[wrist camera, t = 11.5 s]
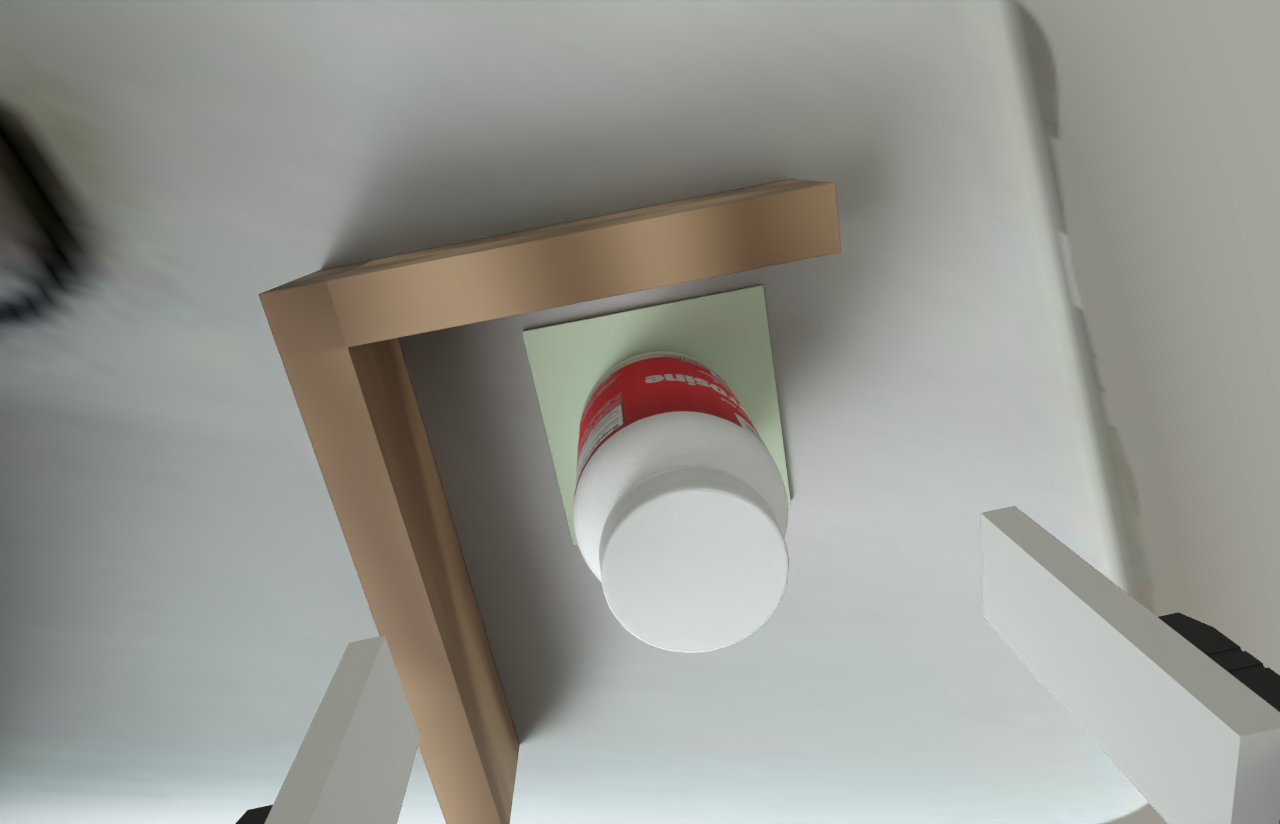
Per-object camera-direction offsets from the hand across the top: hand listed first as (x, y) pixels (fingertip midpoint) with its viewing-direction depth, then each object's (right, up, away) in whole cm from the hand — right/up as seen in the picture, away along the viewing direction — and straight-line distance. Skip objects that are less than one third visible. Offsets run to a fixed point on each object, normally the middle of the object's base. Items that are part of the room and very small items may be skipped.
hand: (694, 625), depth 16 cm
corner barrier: (-3, +1, +14) cm, 14 cm away
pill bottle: (0, +4, +13) cm, 13 cm away
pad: (0, +4, +13) cm, 13 cm away
